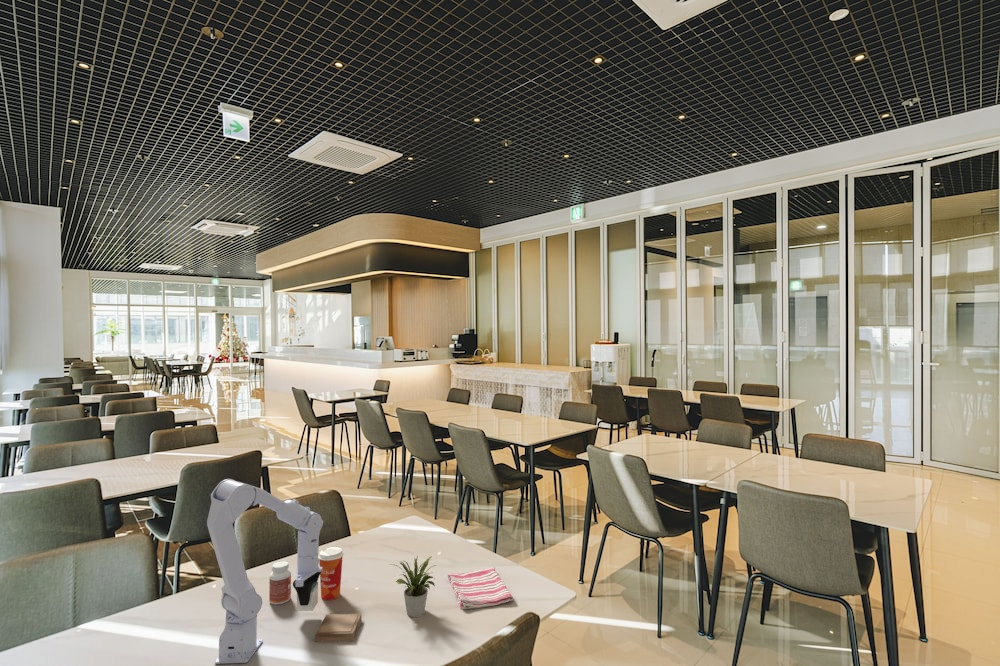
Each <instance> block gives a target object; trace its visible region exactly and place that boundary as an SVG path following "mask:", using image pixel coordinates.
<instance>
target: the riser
mask: <svg viewBox="0 0 1000 666" xmlns="http://www.w3.org/2000/svg"><path fill="white" fill-rule="evenodd" d="M361 622H362V613H338V614H337V613H334V614H331V613H330V614H329V613H328V614H325V616H324V618H323V620H322V622H321V623H320V625H319V627H318V629H316V632H315V634H314V636H315V637H314V642H315V643H323V642H324V643H325V642H327V643H328V642H331V643H332V642H335V643H336V642H353V641H354V639H355V637H356V635H357V632H358V630H359V627H360V624H361Z"/></svg>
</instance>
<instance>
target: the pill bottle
mask: <svg viewBox="0 0 1000 666" xmlns="http://www.w3.org/2000/svg"><path fill="white" fill-rule="evenodd" d="M289 565H290V564H289V562H288V561H285V560H284V561H277V562H274V563H273V564H272V566H271V567H272V568H271V571H272V572H271V573H270V574H269V579H268V580H269V587H268V588H269V589H268V590H269V591H268V595H269V596H268V598H269V603H270V604H271V605H282V604H285V603H287V602H289V601H290V600H291V595H292V571H291V569H289Z"/></svg>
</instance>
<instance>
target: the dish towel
mask: <svg viewBox="0 0 1000 666" xmlns="http://www.w3.org/2000/svg"><path fill="white" fill-rule="evenodd" d="M447 578H448V581H449V583H450V585H451V588H452V589H453V592H454V596H455V597H456V602H457V605H458V606H459V609H460V610H468V609H479V608H480V609H482V608H486V607H492V606H498V605H501V604H507V603H506V602H508V603H513V602H514V596H513V595H512V593H511V591H510V590H509V589H508V588H507V585H506V584H505V582H504V581H503V580H502V578H501V576H500V575H499V573H497V571H496V567H490V568H487V569H486V568H485V569H477V570H470V571H464V572H460V573H459V572H458V573H457V572H456V573H447Z"/></svg>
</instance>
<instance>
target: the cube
mask: <svg viewBox="0 0 1000 666" xmlns="http://www.w3.org/2000/svg"><path fill="white" fill-rule="evenodd" d="M318 596H319V581H317V582H314V583H313V586H312V589H311V593H310V600H309V604H308V605H307V606H301V605H300V602H299V598H298V594H297V593H296V611H297V612H299V611H300V612H304V611H306V612H307V611H308V612H309V611H310V612H311V611H314V610H315V607H316V606H317V604H318V603H319V601H318V600H319V599H318Z"/></svg>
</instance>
